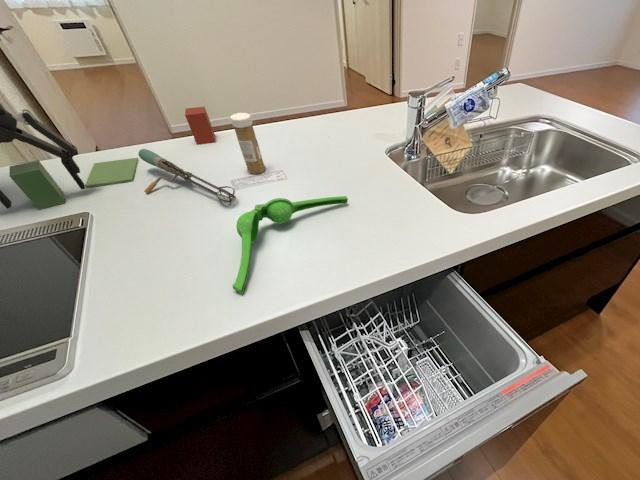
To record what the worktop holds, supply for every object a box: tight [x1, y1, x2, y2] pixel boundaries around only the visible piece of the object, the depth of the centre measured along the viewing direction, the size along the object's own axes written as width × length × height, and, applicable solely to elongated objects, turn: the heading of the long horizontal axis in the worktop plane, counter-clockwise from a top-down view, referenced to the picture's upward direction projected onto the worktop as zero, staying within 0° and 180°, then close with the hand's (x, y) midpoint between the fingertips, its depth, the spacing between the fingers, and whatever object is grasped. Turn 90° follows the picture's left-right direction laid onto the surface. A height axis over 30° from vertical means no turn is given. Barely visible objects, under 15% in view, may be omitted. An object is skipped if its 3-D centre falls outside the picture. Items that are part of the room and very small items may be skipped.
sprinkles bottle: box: [230, 112, 266, 175], centre depth 85 cm, size 5×5×13 cm
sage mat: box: [84, 157, 139, 189], centre depth 87 cm, size 12×10×1 cm
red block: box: [184, 106, 216, 145], centre depth 99 cm, size 5×5×8 cm
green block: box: [8, 160, 66, 210], centre depth 76 cm, size 5×5×8 cm
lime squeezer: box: [232, 195, 349, 295], centre depth 70 cm, size 34×12×6 cm, turn 152°
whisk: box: [138, 148, 237, 208], centre depth 81 cm, size 11×32×7 cm, turn 58°
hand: (47, 195), depth 78 cm, fingers open, 13 cm apart
